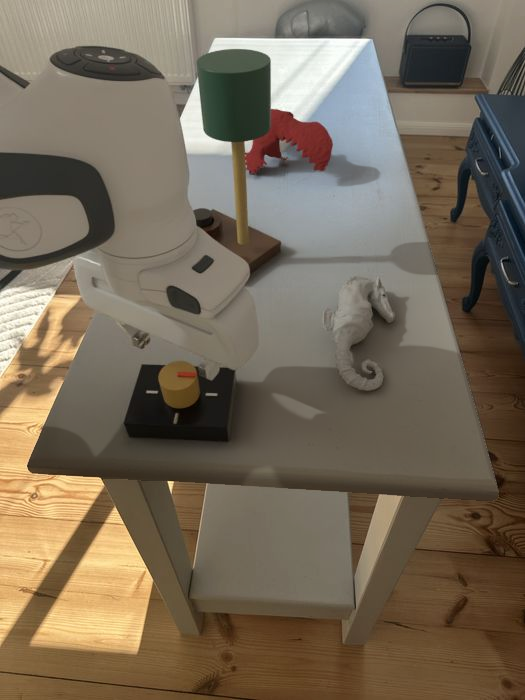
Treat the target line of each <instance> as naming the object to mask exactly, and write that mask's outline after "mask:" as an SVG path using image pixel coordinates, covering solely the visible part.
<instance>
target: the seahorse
mask: <svg viewBox="0 0 525 700" xmlns="http://www.w3.org/2000/svg"><path fill="white" fill-rule="evenodd" d="M386 292H387V291H386V288H385V286H384V285H383V283H382V280H381V278H380V276H377V277H376V280H373V279H371V278H369V277H365V276H361V275H354V276H350V277H349V278H348V279H346V281H345V282H344V283H343V285H342V286H341V289H340V291H338V304H337V310H336V311H334V310H332V309H330V308H325V309H324V310H323V312H322V315H321V316H322V317H321V318H322V321H321V322H322V327H323V329H325V331H328V332H330V331H332V332H331V341H332V342H333V343H335V353H334V357H335V366H336V368H337V370H338V375H339V376H340V377H341V378H342V380H344V381H345V382H346V385H348V386H350V387H352V388H355V389H357V390H358V391H364V392H365V391H367V392H371V391H374V390H377V389H379V388H380V387H381V386H382V385H383V381H384V377H385V376H384V374H383V369H382V368H381V367H380V366H379V364H378V362H375V361H373V360H371V359H369V358H368V359H366V360H364V361H362V363H361V364H360V367H361V370H362V372H363V373H365V374H367V375H371V374H372V373H373V371H374V374H375V375H374V378H372V379H369V378H367V377H364V376H361V374H358V373H356V369H355V368H353V365H352V360H351V352H350V351H351V347H352V346H353V345H356V344H359V343H360V342H362V341H364V339H365V338H366V337H367V335H368V333H370V331H371V330H372V329H373V328H374V323H373V321H372V317H373V315H374V312H373V309H372V307H373V308H374V309H375V310H376V311H377V312H378V315H379V316H380V317H382V318H383V319H384V320H385V322H386V323H387V324H391V323H392V322H393V321H394V320H395V317H396V313H395V312H394V311H393V309H392V307H391V305H390V302H389V298H388V295H387V293H386ZM368 368H370V369H372V370H369V369H368Z"/></svg>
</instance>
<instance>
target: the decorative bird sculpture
mask: <svg viewBox="0 0 525 700" xmlns="http://www.w3.org/2000/svg"><path fill="white" fill-rule="evenodd" d="M294 116H295V115H294V113H293V112H291V111H288V110H281V109H278V108H271V129H270V131H269V132H268V133H267V134H266V135H264V136H262V137H260V138H258V139H254V140H252V145H251V148H250V150H249V152H245V164H246V171H248V174H249V175H252V174H254V175H257V172H260V168H261V169H262V170H263V169H264V165H265V166H267V165H268V163H267V162H266V161H265V156H267V157H270V158H273V159H275V158H276V159H282V160H283V162H286V161H287V160H289V159H290V158H289V157H288V156H286V157H285V156H284V157H283V156H282V152H281V143H280V141H281V142H284V141H285V143H286V144H288V143H290V147H293V146H296V145H297V146H296V149H295V151H296V152H300V151H301V152H302V153H301V159H304V160H305V159H306V158H308V164H314V166H313V171H320V172H325V170H326V168H327V167H328V165H329V163H330V160H331V156H332V151H333V147H334V142H333V138H332V137H331V136H330V133H329V131H328V129H326V127H325V126H324V125H323V124H321V122H318V121H300V120H298V119H296V118H295V117H294Z"/></svg>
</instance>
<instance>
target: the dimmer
mask: <svg viewBox="0 0 525 700" xmlns="http://www.w3.org/2000/svg"><path fill="white" fill-rule="evenodd" d="M166 365H167V364H148V363H147V364H145V363H141V365H140V369H139V372H138V375H137V378H136V381H135V385H134V387H133V391H132V395H131V396H130V397H131V398H130V401H129V403H128V407H127V410H126V412H125V413H126V414H125V416H124V420H123V425H124V429H125V430H126V433H127V436H128V437H129V438H138V439H141V438H142V439H162V440H181V441H183V440H184V441H203V442H205V441H206V442H225V443H229V442H230V436H231V429H232V420H233V414H234V406H235V398H236V392H237V391H236V390H237V372H236V371H237V370H232V369H229V368H227V367H225V366H223V367H222V366H219V368H220V370H219V372H218V374H217V375H216V376H215V378H214V379H213V380H209V379H207V378H205V377H202V376H200V375H199V373H200V372H199V370H198V366H199V365H197V366H196V365H193V366H194V367H195V369H196V371H197V376H198V382H199V388H200V396H199V398H198V400H197V401H196V402H195V403H194V404H193V405H191V406H189V407H186V408H173V407H171V406H169V405H168V404H167V403H166V402H165V401H164V398H163V394H162V391H161V387H160V383H159V379H158V376H159V373H160V371H161V369H162V368H163V367H164V366H166Z"/></svg>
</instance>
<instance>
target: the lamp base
mask: <svg viewBox="0 0 525 700" xmlns="http://www.w3.org/2000/svg"><path fill="white" fill-rule="evenodd" d="M209 210H210V211H211V212H212V221H213V223H212V225H210V226H209V227H205V228H201V229H202V230H204V231H205V232H206V233H207V234H208V235H209V236H210V237H212V238H213V239H214V240H215V241H217V242H218V243H220V244H221V245H222V246H224V247H225V248H227V249H228V250H230V251H231V252H233V253H235V254H236V255H238V256H239V257H241V258H242V259H244V260H245V261H246V262H247V263H248V265H249V268H250V275H251V274H253V273H254V272H256V271H257V270H259V268H261V267H262V266H264V265H266V263H268V262H269V261H271V260H272V259H274V258H275V257H276V256H277V255H279V254H280V253H281V252H282V240H279V239H277V238H275V237H273V236H271V235H269V234H267V233H264V232H263V231H261V230H259V229H256V228H255V227H252V226H250V225H248V233H249V242H248V243H247V244H245V245H241V244H239V243H238V239H237V224H236V218H233V217H231V216H229V215H227V214H225V213H223V212H221V211H218V210H216V209H214V208H212V209H209Z"/></svg>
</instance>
